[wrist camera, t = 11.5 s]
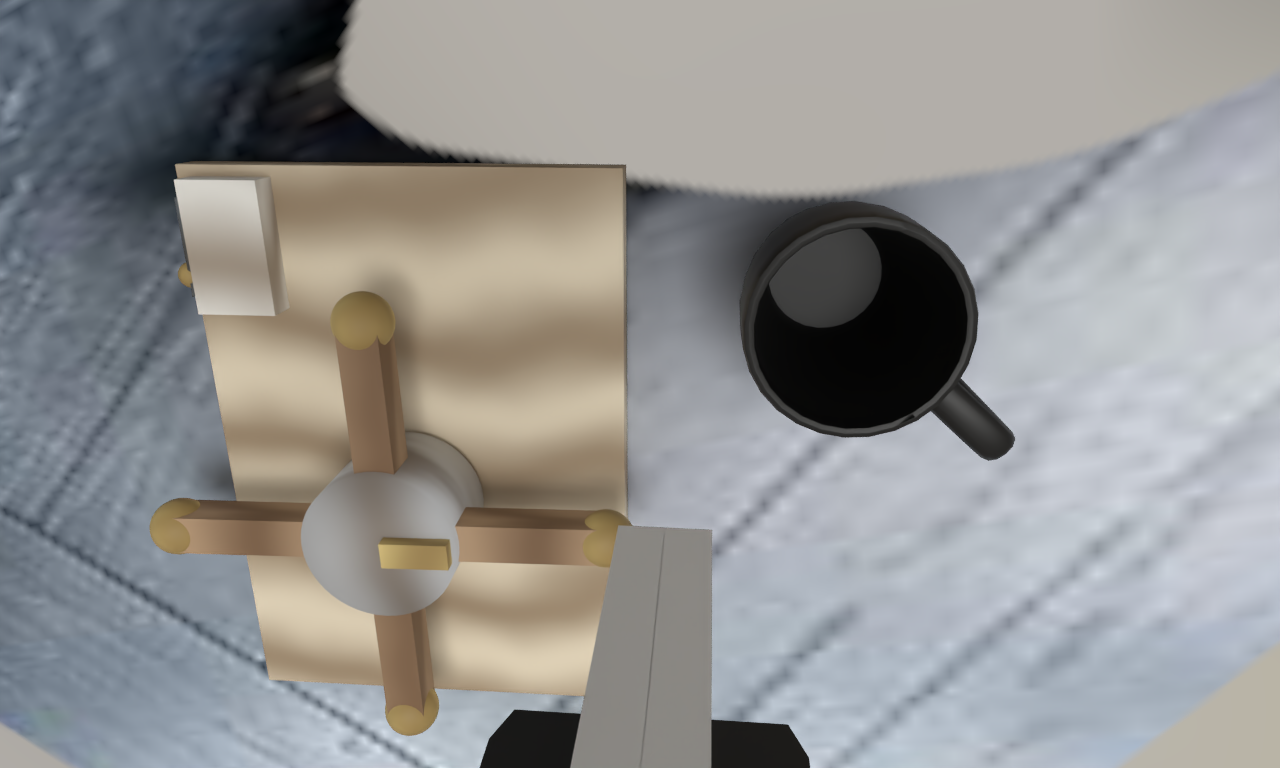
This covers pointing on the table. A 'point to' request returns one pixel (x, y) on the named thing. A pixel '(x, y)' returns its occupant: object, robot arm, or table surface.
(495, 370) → the stand
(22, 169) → the table surface
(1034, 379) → the table surface
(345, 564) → the capstan
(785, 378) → the mug
